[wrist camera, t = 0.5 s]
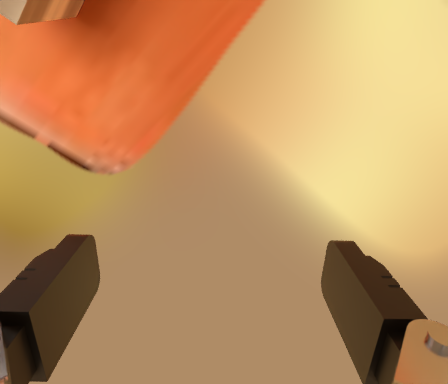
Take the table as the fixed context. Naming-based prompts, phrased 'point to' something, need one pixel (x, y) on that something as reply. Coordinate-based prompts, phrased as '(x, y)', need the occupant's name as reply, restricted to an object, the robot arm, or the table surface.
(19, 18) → the maple board
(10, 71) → the table surface
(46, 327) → the robot arm
